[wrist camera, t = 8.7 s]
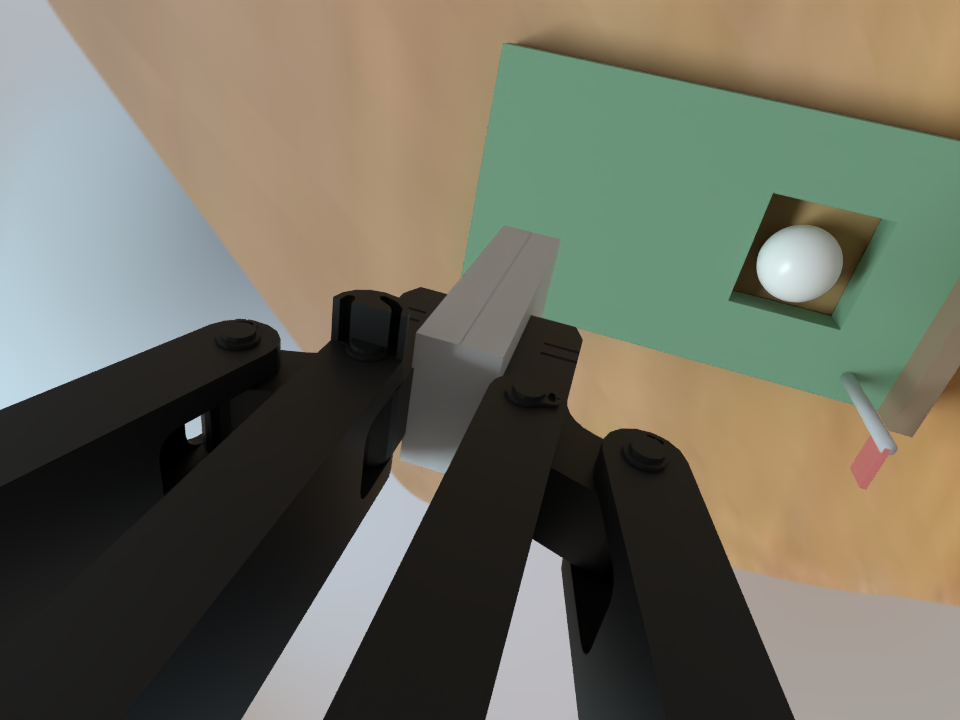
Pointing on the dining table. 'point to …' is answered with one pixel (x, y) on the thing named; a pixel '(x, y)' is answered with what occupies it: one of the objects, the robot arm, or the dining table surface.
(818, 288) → the ball
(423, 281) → the dining table surface
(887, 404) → the green
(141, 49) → the dining table surface
